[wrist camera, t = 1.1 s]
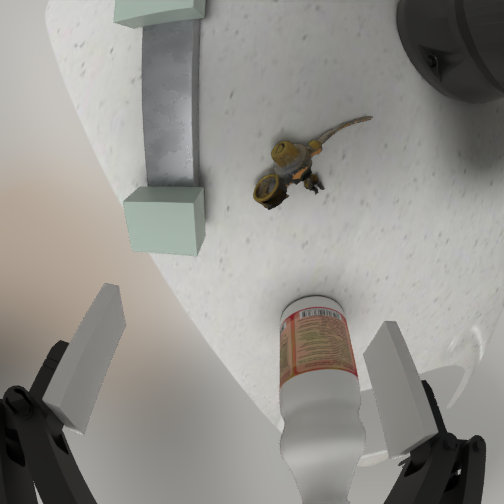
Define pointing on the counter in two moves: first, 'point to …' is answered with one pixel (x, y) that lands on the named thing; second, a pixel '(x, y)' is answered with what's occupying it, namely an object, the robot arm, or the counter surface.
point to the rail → (171, 103)
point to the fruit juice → (319, 400)
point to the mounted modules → (163, 198)
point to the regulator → (292, 168)
